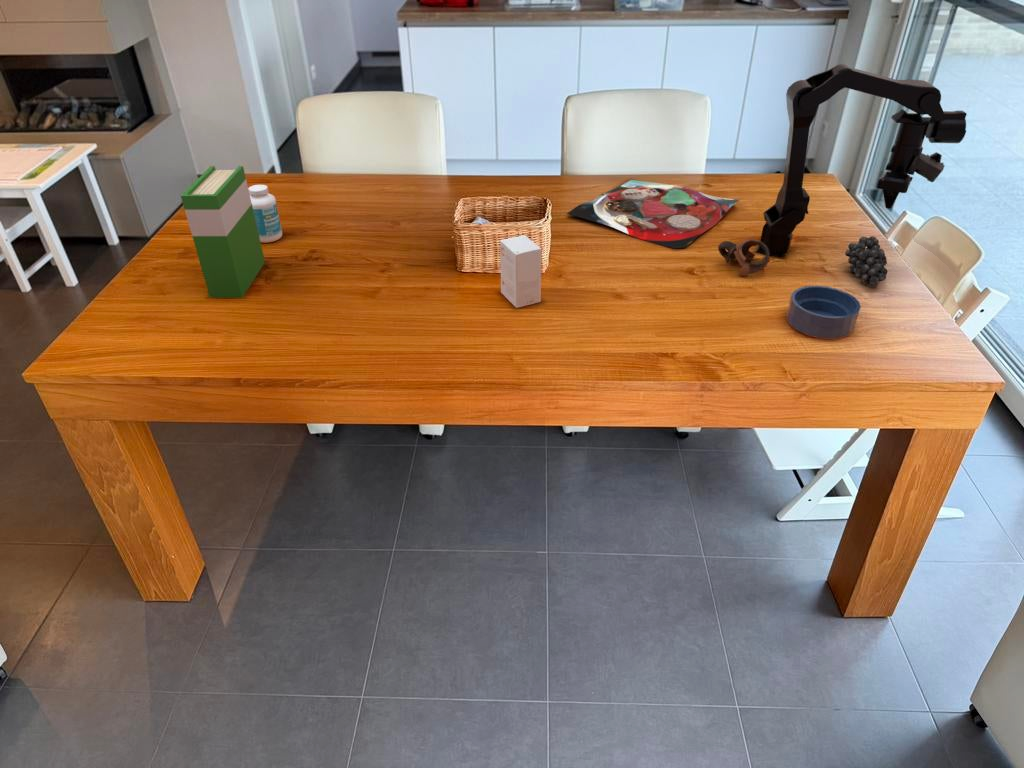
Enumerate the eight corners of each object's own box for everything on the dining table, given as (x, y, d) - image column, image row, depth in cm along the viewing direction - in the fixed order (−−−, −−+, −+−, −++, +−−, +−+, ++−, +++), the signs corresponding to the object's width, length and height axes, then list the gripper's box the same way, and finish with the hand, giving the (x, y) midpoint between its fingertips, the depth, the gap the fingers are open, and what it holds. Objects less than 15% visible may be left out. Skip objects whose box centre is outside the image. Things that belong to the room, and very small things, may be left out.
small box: (541, 302, 163) (542, 248, 156) (515, 308, 161) (515, 254, 153) (525, 286, 169) (525, 234, 161) (500, 292, 167) (499, 239, 159)
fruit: (894, 257, 159) (879, 227, 171) (852, 265, 162) (841, 235, 174) (896, 291, 164) (881, 260, 175) (855, 299, 166) (844, 267, 178)
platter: (630, 179, 222) (631, 173, 221) (739, 207, 205) (740, 200, 204) (565, 216, 200) (565, 210, 199) (681, 251, 183) (682, 244, 182)
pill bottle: (272, 245, 188) (261, 194, 180) (247, 241, 190) (235, 191, 182) (288, 233, 194) (278, 184, 186) (264, 230, 196) (253, 180, 188)
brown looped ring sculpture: (763, 261, 179) (777, 242, 172) (754, 292, 175) (767, 273, 168) (716, 244, 180) (728, 224, 173) (706, 274, 176) (717, 255, 169)
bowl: (778, 330, 153) (784, 307, 150) (794, 302, 162) (800, 280, 159) (846, 347, 147) (853, 324, 144) (858, 318, 157) (866, 295, 153)
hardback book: (235, 262, 181) (210, 166, 167) (265, 262, 181) (243, 166, 166) (209, 297, 166) (180, 195, 152) (242, 297, 166) (216, 195, 152)
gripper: (943, 160, 155) (919, 229, 165) (952, 136, 168) (930, 201, 177) (886, 151, 160) (867, 219, 169) (900, 128, 173) (881, 192, 182)
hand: (888, 208), depth 174 cm, fingers closed
